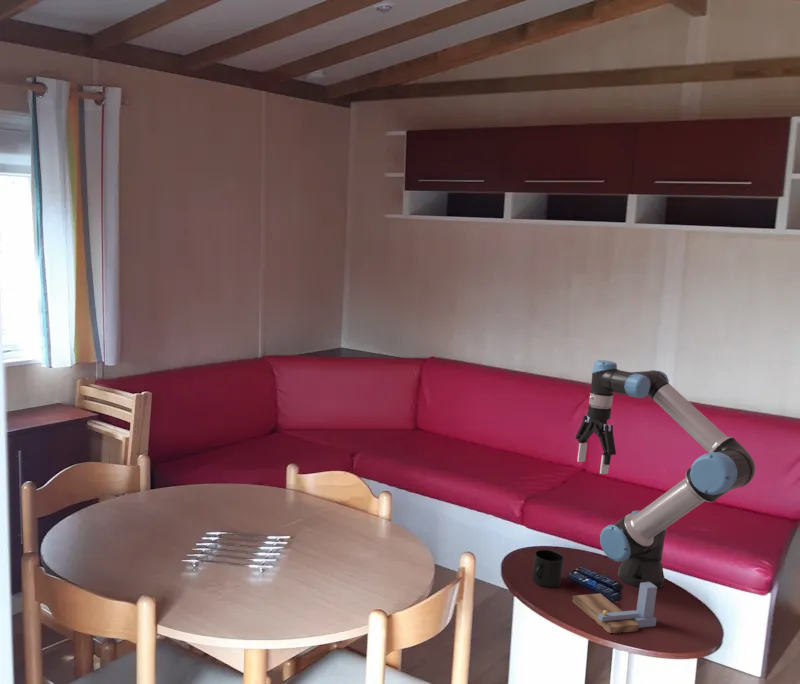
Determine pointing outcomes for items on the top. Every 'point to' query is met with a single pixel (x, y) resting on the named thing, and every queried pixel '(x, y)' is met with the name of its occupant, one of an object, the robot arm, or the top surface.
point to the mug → (547, 568)
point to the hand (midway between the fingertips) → (592, 467)
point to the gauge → (638, 608)
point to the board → (596, 605)
